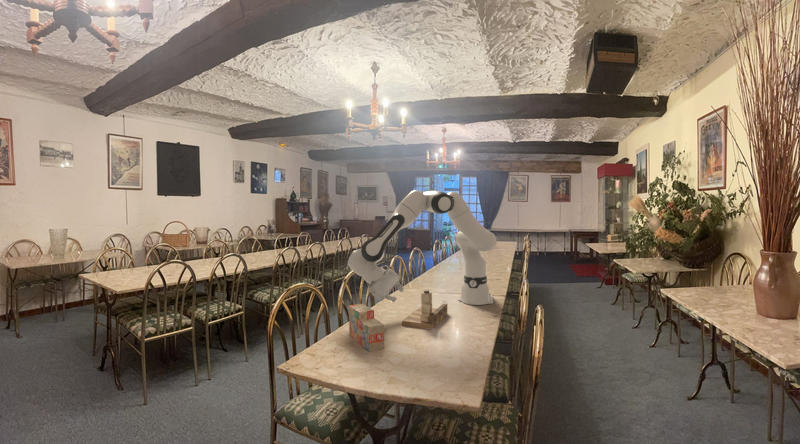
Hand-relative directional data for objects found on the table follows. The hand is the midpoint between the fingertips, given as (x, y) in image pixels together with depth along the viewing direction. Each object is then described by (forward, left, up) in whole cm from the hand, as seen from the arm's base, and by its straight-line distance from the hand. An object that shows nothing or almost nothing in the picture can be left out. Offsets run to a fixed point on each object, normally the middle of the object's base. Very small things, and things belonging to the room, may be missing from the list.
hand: (399, 295), depth 173 cm
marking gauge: (+4, +15, -9) cm, 18 cm away
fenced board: (-2, +12, -11) cm, 16 cm away
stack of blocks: (+32, -1, -11) cm, 34 cm away
